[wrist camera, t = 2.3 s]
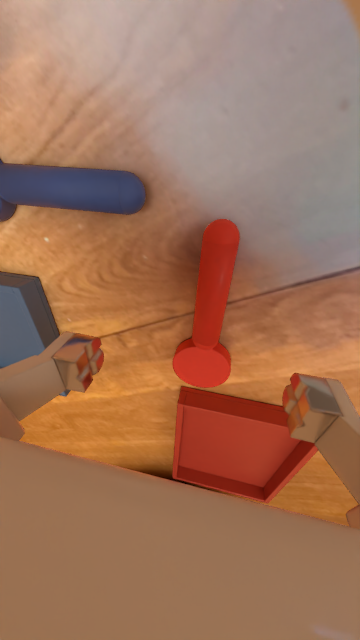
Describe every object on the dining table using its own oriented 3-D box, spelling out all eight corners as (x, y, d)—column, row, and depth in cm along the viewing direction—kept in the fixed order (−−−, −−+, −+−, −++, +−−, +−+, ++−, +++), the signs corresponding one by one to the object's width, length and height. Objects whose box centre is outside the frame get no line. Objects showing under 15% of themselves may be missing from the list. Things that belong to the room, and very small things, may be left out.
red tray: (323, 414, 19) (331, 437, 18) (266, 485, 30) (268, 503, 28) (181, 386, 21) (177, 403, 19) (175, 462, 32) (172, 478, 30)
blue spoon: (148, 138, 11) (133, 131, 9) (151, 237, 13) (140, 246, 12) (-74, 129, 12) (-120, 122, 11) (-31, 218, 15) (-62, 223, 14)
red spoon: (182, 212, 12) (174, 218, 11) (268, 219, 11) (274, 227, 10) (174, 371, 20) (169, 389, 18) (225, 381, 19) (224, 400, 18)
